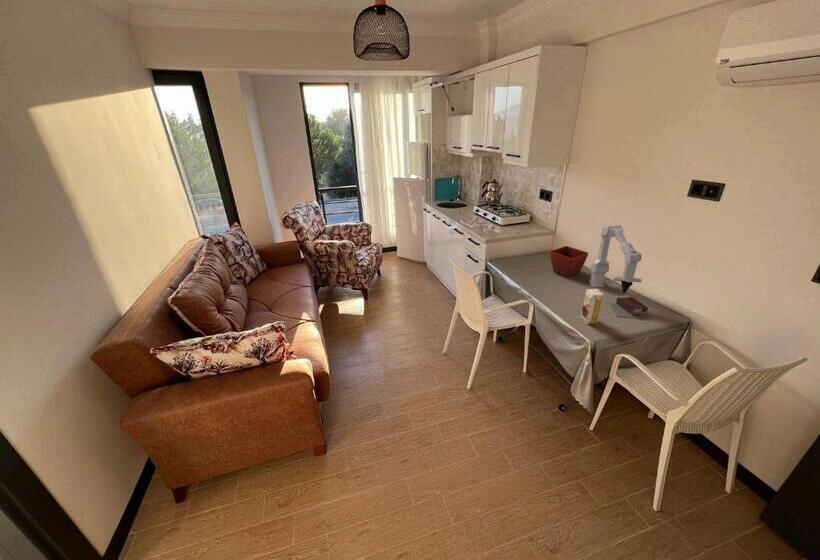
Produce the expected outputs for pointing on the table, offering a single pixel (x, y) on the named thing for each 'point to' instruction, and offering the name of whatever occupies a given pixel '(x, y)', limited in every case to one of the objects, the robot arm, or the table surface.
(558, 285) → the table surface
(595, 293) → the juice carton
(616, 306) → the mat
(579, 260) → the plant pot
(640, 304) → the supplement box
